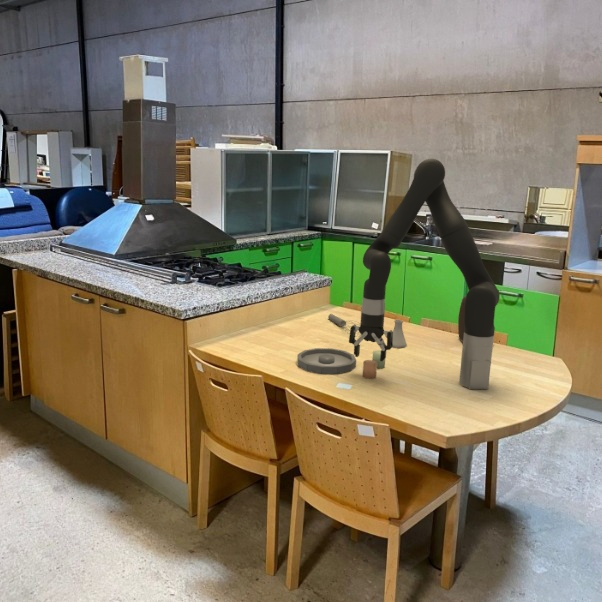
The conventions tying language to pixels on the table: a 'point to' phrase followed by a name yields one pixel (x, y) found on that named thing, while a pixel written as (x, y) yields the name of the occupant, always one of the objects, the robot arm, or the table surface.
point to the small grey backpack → (461, 320)
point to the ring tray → (326, 361)
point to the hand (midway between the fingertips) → (369, 358)
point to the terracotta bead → (369, 369)
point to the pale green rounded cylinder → (378, 359)
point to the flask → (398, 335)
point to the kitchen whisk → (340, 321)
